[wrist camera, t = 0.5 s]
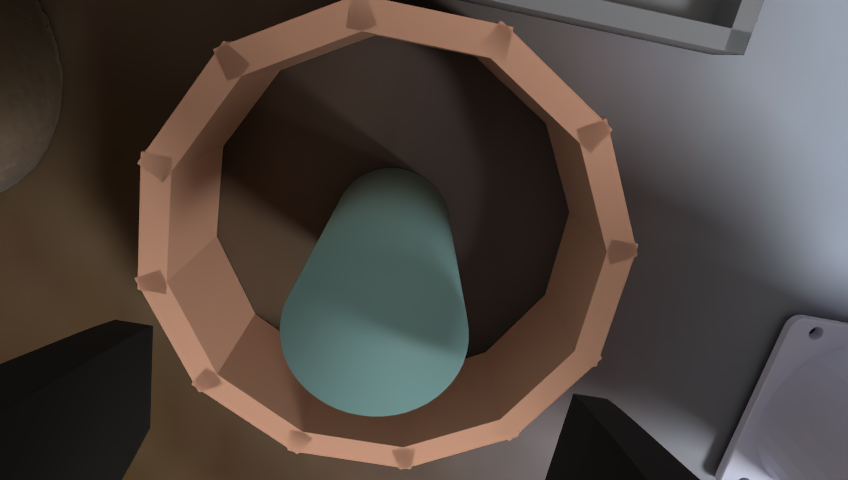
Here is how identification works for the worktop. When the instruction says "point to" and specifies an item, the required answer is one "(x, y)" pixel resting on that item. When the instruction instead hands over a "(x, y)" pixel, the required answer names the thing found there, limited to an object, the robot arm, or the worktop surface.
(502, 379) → the tan faceted hollow ring
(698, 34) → the tray
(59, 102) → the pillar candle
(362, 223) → the peg
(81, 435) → the robot arm
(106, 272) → the worktop surface
